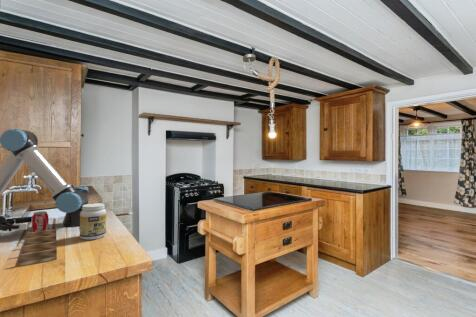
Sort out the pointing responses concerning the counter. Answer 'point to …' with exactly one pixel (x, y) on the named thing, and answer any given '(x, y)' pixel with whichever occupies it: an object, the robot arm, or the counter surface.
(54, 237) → the rack
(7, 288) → the counter surface
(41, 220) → the soda can
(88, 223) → the supplement tub
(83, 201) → the robot arm
